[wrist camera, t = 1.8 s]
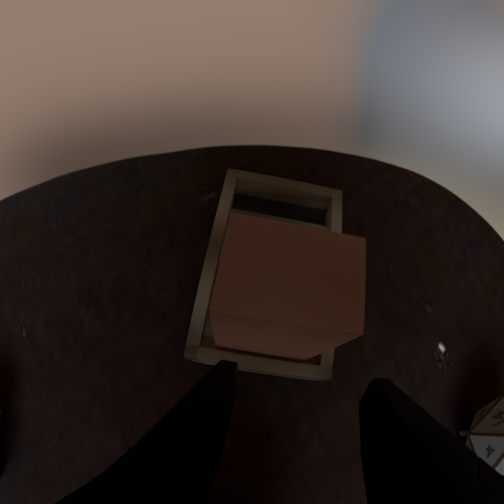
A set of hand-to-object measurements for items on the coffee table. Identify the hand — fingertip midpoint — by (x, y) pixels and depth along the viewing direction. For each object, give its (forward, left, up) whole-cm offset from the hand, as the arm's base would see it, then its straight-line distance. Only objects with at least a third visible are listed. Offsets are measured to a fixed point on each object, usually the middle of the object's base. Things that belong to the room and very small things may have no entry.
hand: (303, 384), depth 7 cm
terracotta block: (+4, +1, -12) cm, 13 cm away
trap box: (+8, +3, -14) cm, 16 cm away
